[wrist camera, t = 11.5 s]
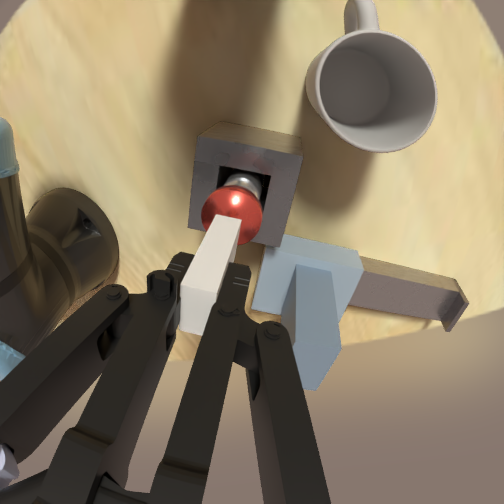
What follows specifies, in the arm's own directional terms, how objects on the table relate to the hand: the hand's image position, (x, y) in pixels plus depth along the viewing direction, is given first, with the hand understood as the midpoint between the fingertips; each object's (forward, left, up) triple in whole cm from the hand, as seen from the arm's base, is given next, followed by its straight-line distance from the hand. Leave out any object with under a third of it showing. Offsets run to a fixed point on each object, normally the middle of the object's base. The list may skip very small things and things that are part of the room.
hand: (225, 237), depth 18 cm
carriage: (+8, -10, -13) cm, 19 cm away
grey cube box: (0, 0, -15) cm, 15 cm away
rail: (+16, -10, -15) cm, 24 cm away
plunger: (0, 0, -11) cm, 11 cm away
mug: (+7, +12, -15) cm, 21 cm away
